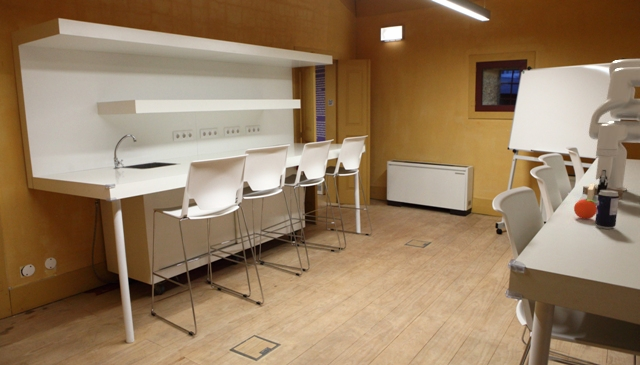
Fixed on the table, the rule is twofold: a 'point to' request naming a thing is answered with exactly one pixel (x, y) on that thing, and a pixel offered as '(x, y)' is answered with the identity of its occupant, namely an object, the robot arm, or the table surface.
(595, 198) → the ridge stand
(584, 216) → the tomato
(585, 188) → the walnut rod
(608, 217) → the beverage can
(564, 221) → the table surface
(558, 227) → the table surface
